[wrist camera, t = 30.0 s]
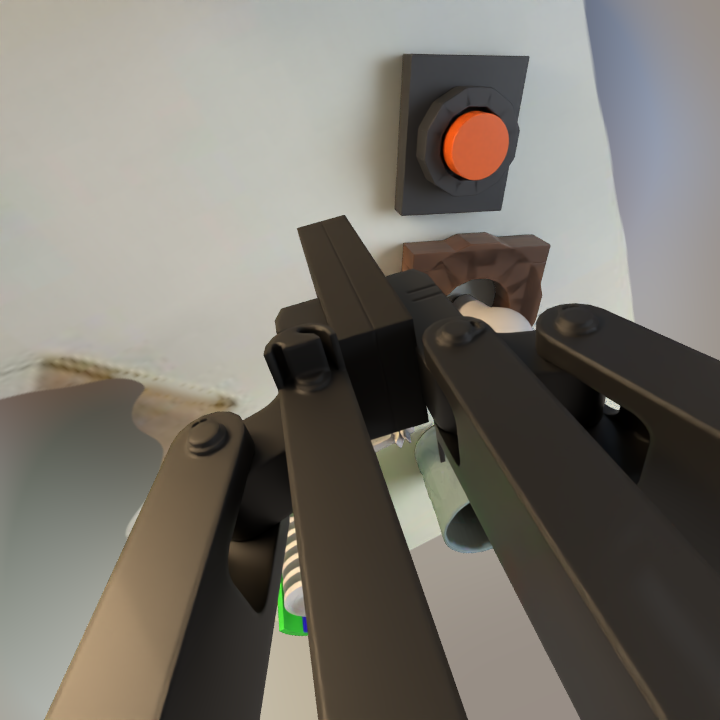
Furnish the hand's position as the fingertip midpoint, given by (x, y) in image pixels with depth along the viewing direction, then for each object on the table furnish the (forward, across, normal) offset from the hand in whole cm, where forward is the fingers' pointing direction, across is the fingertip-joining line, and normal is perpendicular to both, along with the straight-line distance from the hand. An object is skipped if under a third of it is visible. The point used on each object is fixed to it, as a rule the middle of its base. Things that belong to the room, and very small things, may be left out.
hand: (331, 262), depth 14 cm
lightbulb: (+24, +13, -18) cm, 33 cm away
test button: (+21, +14, -3) cm, 25 cm away
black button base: (+24, +14, -3) cm, 28 cm away
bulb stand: (+24, +13, -18) cm, 33 cm away
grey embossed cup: (+24, +10, -38) cm, 46 cm away
